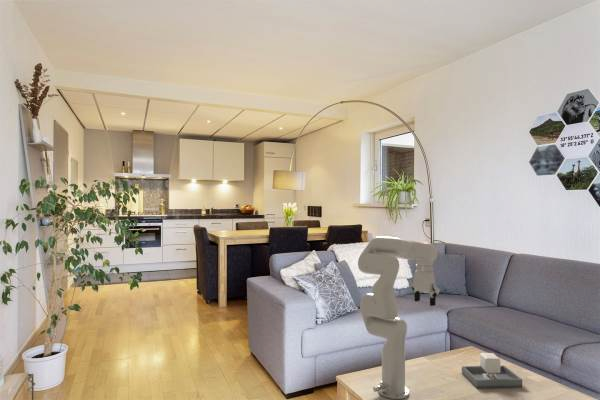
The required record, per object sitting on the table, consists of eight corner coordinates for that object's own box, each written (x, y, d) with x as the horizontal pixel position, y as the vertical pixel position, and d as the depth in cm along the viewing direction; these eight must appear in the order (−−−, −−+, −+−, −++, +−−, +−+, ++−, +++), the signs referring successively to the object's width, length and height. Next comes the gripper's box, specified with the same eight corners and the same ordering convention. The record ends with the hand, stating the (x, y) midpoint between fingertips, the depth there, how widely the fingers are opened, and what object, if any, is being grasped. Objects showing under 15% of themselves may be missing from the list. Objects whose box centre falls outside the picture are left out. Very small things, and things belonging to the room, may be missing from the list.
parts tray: (476, 388, 165) (476, 380, 165) (461, 373, 179) (461, 366, 179) (522, 387, 165) (522, 379, 165) (504, 372, 179) (504, 365, 179)
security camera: (494, 375, 175) (494, 353, 175) (501, 382, 168) (501, 359, 168) (480, 374, 175) (480, 352, 176) (486, 381, 169) (486, 359, 169)
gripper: (406, 266, 194) (406, 300, 194) (433, 271, 179) (433, 308, 179) (416, 265, 198) (416, 298, 198) (444, 270, 183) (444, 306, 183)
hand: (424, 303), depth 188 cm, fingers open, 9 cm apart
